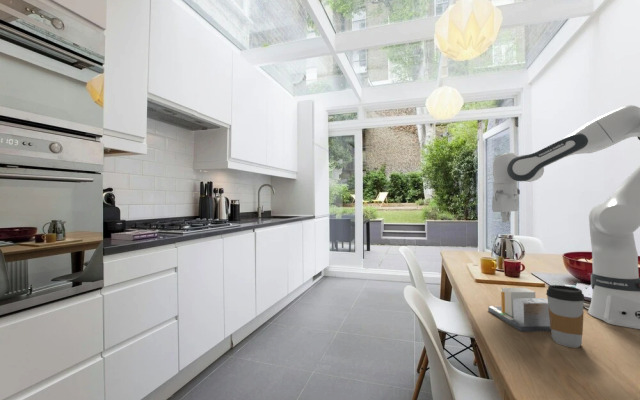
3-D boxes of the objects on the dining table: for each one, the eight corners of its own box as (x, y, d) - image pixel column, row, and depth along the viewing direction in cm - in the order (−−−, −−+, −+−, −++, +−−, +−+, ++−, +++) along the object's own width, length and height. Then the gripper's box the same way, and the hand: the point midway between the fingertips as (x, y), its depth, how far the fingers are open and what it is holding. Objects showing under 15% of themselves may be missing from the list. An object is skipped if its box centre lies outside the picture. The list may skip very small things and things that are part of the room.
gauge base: (488, 310, 108) (487, 287, 109) (521, 310, 108) (520, 287, 108) (520, 331, 90) (520, 303, 91) (560, 331, 90) (559, 303, 91)
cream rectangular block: (496, 310, 104) (495, 287, 104) (524, 310, 104) (523, 287, 104) (506, 316, 98) (506, 292, 98) (536, 316, 98) (535, 292, 98)
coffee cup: (548, 333, 89) (546, 283, 89) (585, 341, 84) (583, 287, 84) (547, 343, 82) (545, 289, 83) (587, 352, 77) (585, 294, 77)
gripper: (503, 189, 121) (504, 223, 121) (521, 190, 134) (522, 221, 134) (487, 190, 126) (488, 222, 126) (505, 191, 139) (506, 220, 139)
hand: (506, 222), depth 130 cm, fingers closed
